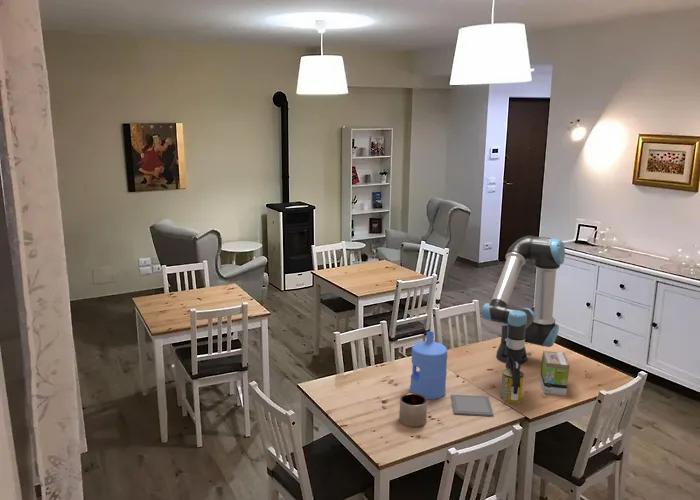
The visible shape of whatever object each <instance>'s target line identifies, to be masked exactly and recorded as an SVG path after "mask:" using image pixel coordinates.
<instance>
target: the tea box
mask: <svg viewBox="0 0 700 500" xmlns="http://www.w3.org/2000/svg"><path fill="white" fill-rule="evenodd" d="M570 366H571V365H570V363H569V361H568V357H567V356H566V354H565V352H560V351H550V350H549V351H548V350H543V351H542V355H541V366H540V367H541V368H540V376H539V380H540V384H541V388H542V391H543V394H548V395H557V396H566V395H567V394H568V393H567V391H568V382H569V377H570V375H569V374H570Z"/></svg>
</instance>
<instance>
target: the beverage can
mask: <svg viewBox="0 0 700 500" xmlns="http://www.w3.org/2000/svg"><path fill="white" fill-rule="evenodd" d="M524 375H525V373H524V372H523V371H522V370H520V387H519V391H518V400H511V391H512V386H511V385H513V381H512V371H511V369H506V368H505V369H503V370H502V372H501V380H500V381H501V382H500V397H499V398H500V400H501V401H503V402H505V403H508V404H519V403H521V402H522V399H523V387H524V379H525V377H524Z"/></svg>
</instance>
